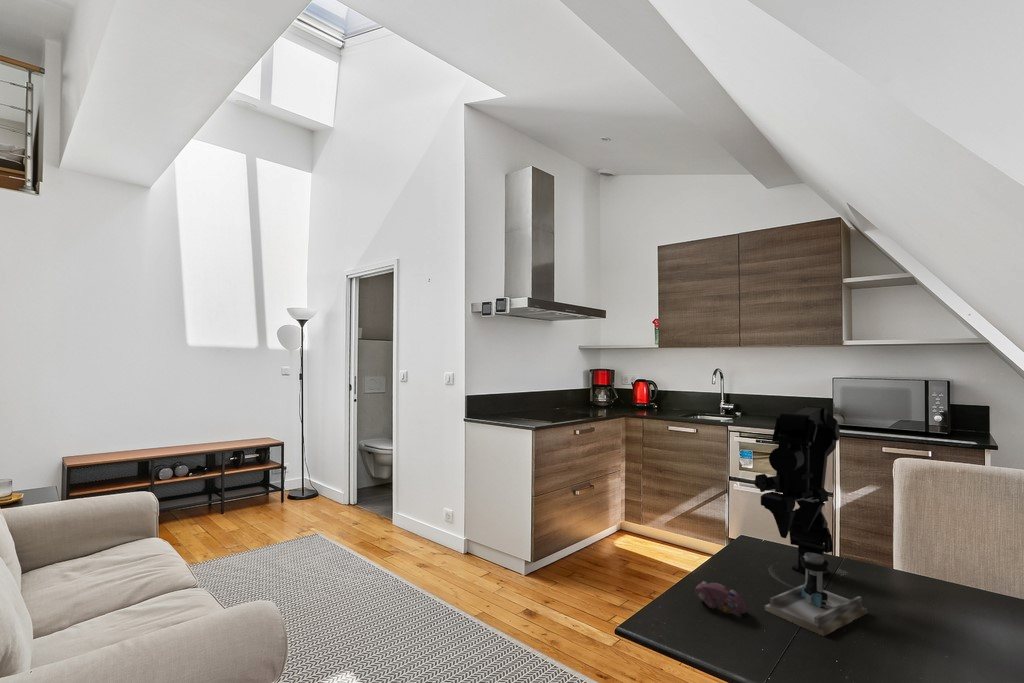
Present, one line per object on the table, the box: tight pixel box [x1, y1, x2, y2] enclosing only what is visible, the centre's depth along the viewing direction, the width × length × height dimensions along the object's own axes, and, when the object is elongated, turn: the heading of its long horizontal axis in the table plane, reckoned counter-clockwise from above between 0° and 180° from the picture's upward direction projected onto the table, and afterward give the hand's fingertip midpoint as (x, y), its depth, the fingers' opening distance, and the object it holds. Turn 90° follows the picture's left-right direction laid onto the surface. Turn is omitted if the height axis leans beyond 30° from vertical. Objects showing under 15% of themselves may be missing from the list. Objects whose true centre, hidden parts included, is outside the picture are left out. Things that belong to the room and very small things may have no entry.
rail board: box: [764, 583, 868, 637], centre depth 111 cm, size 18×12×3 cm, turn 123°
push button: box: [800, 552, 831, 609], centre depth 112 cm, size 7×5×10 cm
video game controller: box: [694, 580, 747, 615], centre depth 111 cm, size 10×5×7 cm, turn 49°
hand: (794, 534), depth 122 cm, fingers open, 9 cm apart
